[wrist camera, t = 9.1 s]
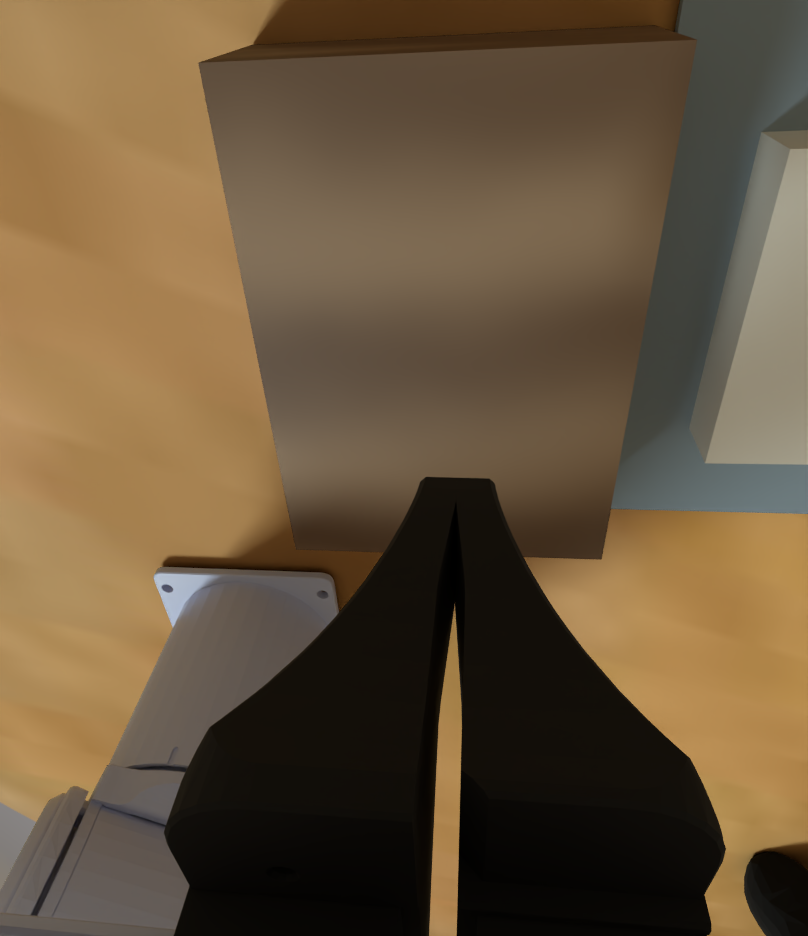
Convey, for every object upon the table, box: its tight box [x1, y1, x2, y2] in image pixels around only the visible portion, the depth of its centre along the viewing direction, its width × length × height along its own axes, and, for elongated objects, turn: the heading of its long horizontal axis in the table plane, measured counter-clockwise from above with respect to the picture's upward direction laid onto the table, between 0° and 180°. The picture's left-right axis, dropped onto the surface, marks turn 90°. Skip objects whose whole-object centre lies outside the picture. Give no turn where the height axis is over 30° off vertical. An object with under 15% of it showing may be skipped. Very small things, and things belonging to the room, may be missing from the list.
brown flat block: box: [199, 25, 697, 559], centre depth 19 cm, size 14×10×4 cm
